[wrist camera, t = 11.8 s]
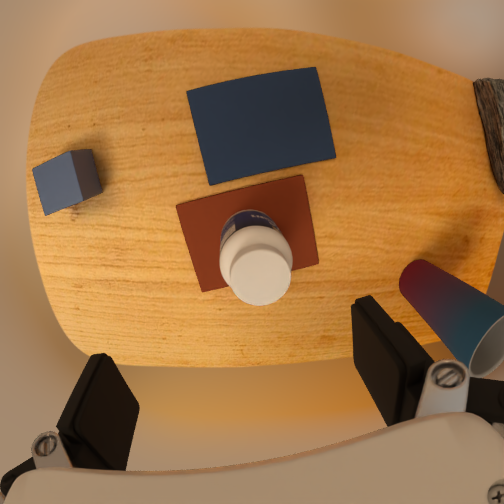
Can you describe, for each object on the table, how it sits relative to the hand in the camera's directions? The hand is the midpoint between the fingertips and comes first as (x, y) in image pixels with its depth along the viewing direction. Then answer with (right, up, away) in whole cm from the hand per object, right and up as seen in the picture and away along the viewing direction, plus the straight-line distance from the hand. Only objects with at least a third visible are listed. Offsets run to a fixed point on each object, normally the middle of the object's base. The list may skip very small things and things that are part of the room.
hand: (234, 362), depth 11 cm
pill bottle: (0, +6, +18) cm, 19 cm away
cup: (+20, +1, +22) cm, 30 cm away
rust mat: (0, +6, +19) cm, 20 cm away
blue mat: (+2, +16, +15) cm, 22 cm away
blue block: (-16, +11, +15) cm, 25 cm away
